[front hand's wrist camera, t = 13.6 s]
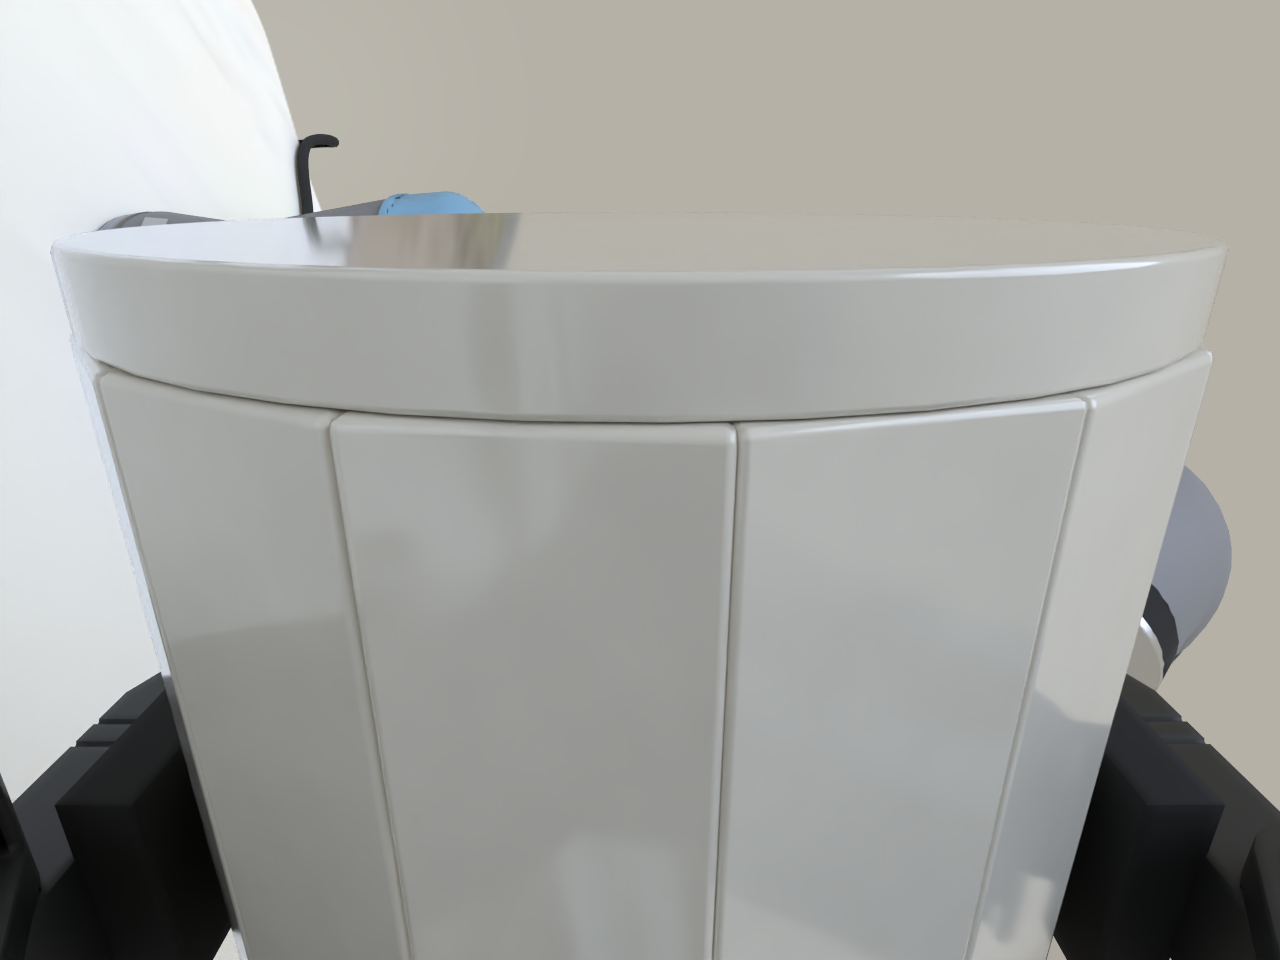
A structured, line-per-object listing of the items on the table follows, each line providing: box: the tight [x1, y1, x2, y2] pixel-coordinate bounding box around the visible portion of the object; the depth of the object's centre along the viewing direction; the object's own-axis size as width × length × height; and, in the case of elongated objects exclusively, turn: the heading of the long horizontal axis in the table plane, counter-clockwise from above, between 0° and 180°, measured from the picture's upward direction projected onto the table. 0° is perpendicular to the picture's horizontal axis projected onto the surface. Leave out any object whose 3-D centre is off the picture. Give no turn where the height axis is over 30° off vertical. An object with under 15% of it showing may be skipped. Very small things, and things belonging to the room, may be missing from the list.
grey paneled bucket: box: [50, 212, 1229, 960], centre depth 9 cm, size 10×10×10 cm
